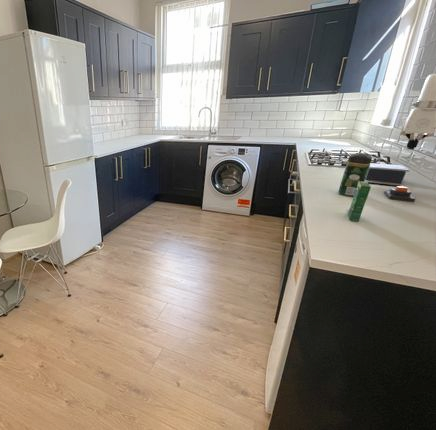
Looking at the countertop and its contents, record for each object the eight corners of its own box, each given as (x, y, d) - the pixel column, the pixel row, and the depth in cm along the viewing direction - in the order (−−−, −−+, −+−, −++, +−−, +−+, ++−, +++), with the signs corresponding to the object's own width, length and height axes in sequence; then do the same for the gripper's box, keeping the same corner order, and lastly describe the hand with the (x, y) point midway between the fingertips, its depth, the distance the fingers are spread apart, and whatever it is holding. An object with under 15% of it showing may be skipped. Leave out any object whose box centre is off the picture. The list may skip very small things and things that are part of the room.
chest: (393, 182, 147) (399, 167, 144) (399, 187, 138) (406, 172, 135) (360, 178, 153) (365, 164, 150) (364, 183, 144) (369, 168, 141)
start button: (394, 189, 124) (395, 185, 124) (405, 190, 123) (406, 186, 122) (396, 191, 122) (397, 187, 121) (407, 192, 120) (409, 188, 119)
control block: (383, 193, 129) (386, 186, 128) (407, 196, 125) (410, 188, 124) (388, 199, 121) (391, 191, 120) (413, 202, 118) (417, 194, 116)
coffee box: (347, 213, 107) (358, 180, 102) (356, 215, 105) (368, 181, 100) (348, 220, 101) (360, 185, 96) (358, 222, 99) (371, 186, 94)
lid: (402, 167, 143) (402, 165, 143) (408, 171, 134) (409, 169, 134) (365, 164, 150) (366, 162, 150) (369, 168, 141) (370, 166, 141)
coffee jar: (339, 190, 134) (351, 151, 127) (360, 193, 129) (374, 153, 122) (336, 194, 128) (349, 153, 121) (358, 198, 123) (373, 156, 116)
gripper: (406, 105, 120) (389, 148, 127) (456, 106, 112) (436, 152, 120) (402, 105, 126) (386, 146, 133) (450, 105, 118) (430, 149, 125)
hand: (410, 149), depth 126 cm, fingers closed
